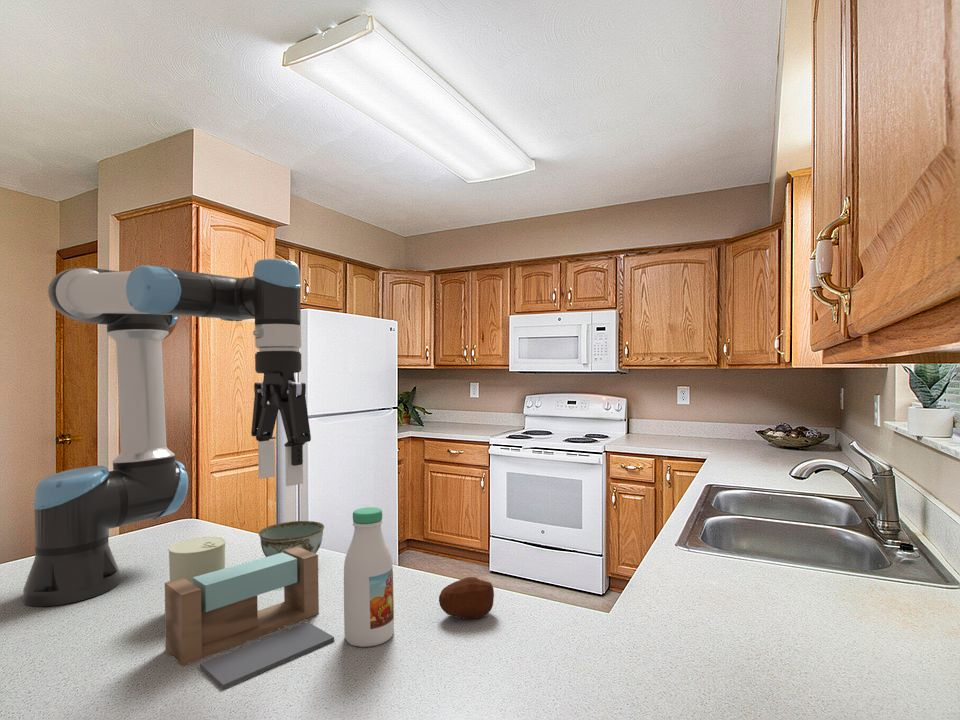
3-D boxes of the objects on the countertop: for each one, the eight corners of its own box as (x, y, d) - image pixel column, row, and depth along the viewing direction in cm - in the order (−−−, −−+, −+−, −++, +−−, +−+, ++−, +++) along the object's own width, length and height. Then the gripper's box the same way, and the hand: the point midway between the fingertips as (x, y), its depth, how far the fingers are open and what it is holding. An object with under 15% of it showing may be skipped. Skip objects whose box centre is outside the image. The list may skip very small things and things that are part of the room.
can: (203, 622, 93) (202, 551, 93) (156, 618, 95) (155, 549, 95) (237, 599, 102) (236, 535, 102) (194, 596, 104) (193, 533, 104)
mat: (199, 667, 79) (199, 663, 79) (307, 625, 91) (307, 621, 91) (223, 689, 73) (223, 684, 73) (334, 640, 86) (334, 637, 86)
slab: (193, 603, 86) (192, 577, 86) (283, 575, 97) (282, 552, 97) (205, 612, 83) (205, 585, 83) (297, 582, 94) (297, 558, 94)
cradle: (165, 649, 84) (164, 582, 84) (298, 602, 100) (297, 546, 100) (182, 666, 79) (181, 595, 79) (318, 613, 95) (317, 554, 96)
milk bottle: (351, 653, 82) (349, 519, 82) (339, 631, 89) (337, 508, 89) (400, 640, 85) (398, 512, 86) (385, 620, 92) (383, 501, 92)
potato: (493, 626, 90) (492, 587, 90) (436, 626, 90) (436, 586, 90) (494, 607, 97) (493, 571, 97) (442, 607, 97) (441, 571, 97)
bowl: (313, 577, 112) (312, 538, 112) (248, 578, 112) (247, 539, 113) (332, 554, 126) (331, 519, 126) (274, 555, 126) (273, 520, 126)
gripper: (229, 352, 99) (231, 476, 99) (289, 347, 85) (291, 493, 84) (269, 352, 105) (271, 470, 105) (332, 348, 90) (334, 485, 90)
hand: (280, 480), depth 94 cm, fingers open, 9 cm apart
